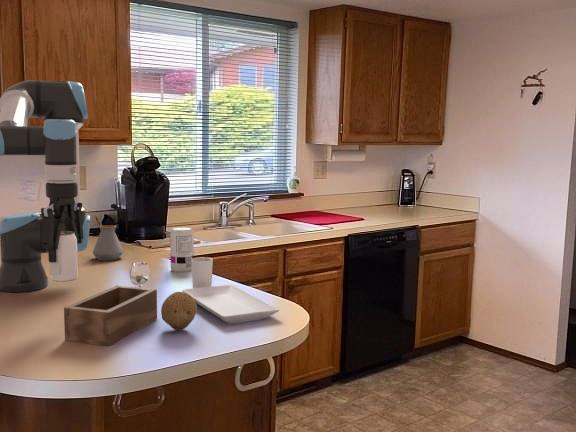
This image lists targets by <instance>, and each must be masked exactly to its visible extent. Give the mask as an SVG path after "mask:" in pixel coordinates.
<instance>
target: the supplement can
mask: <svg viewBox="0 0 576 432" xmlns="http://www.w3.org/2000/svg"><path fill="white" fill-rule="evenodd" d="M169 236H170V237H169V239H170V242H169V244H170V247H169V248H170V249H169V250H170V269H171V270H172V272H176V273H185V272H186V273H187V272H190V271H191V272H192V263H191V259H193V258H195V254H194V253H195V250H194V247H195V246H194V245H195V244H194V241H195V240H194V239H195V238H194V236H195V235H194V231H193V228H191V227H187V226H186V227H184V226H182V227H181V226H179V227H173V228H171V231H170V235H169Z"/></svg>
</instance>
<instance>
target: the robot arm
mask: <svg viewBox="0 0 576 432" xmlns="http://www.w3.org/2000/svg"><path fill="white" fill-rule="evenodd" d="M88 117H89V115H88V109H87V102H86V96H85V91H84V86H83V85H82V83H80V82H77V81H68V80H39V79H26V80H23V81H20V82H17V83H15V84H13V85H11V86H9V87H8V88H7V89H6V90H4V91H3V92H2V94H1V95H0V157H1V156H2V157H4V156H44V178H45V179H44V180H46V181H47V182H46V183H45V196H46V198H49V204H48V206H47V207H41V208H40V212H39V211H27V212H20V213H12V214H9V215H5V216H4V217H2V218H1V220H0V259H1V260H0V262H1V264H0V292H5V293H24V292H32V291H37V290H40V289H45V288H46V287H48V285H49V278H48V276H47V273H46V271H45V267H44V265H43V263H42V254H47V255H48V262H49V275H50V276H51V275H61V259H60V249H58V244H59V238H60V232H61V231H73V232H75V236H76V238H77V264H78V265H79V252H83V251H85V250H86V249H87V247H88V242H89V235H90V227H91V226H90V225H91V215H88V214H86V213H87V212H86V211H87V210H86V209H85V208H84V207H83V203H82V202H81V181H80V179H81V177H80V175H81V173H80V172H81V171H80V142H79V141H80V138H79V130H80V129H81V128H82V127H83V126H84V120H87V119H88ZM29 118H33V119H35V118H36V119H44V120H43V126H39V125H38V126H32V125H31V126H30V125H28V123H29ZM53 243H54V244H53Z"/></svg>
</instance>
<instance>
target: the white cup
mask: <svg viewBox="0 0 576 432" xmlns="http://www.w3.org/2000/svg"><path fill="white" fill-rule="evenodd" d="M213 260H214V258H211V257H202V256H201V257H194V258H193V259H191V263H192V270H191V278H192V279H191V281H192V283H191V284H192V289H193V288H203V287H213V285H212V284H213V283H212V281H213V262H214V261H213Z"/></svg>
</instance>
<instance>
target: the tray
mask: <svg viewBox="0 0 576 432" xmlns="http://www.w3.org/2000/svg"><path fill="white" fill-rule="evenodd" d="M181 292H184V293H187V294H189V295H190V296H191V297H192V298H193V299H194V300H195V302H196V304H197V305H199V306H201V307H202V308H204V310H206V311H208V312H210V313H211V314H213V315H214V316H216V317H217V318H218V319H220V320H222V321H223V322H225V323H226V324H229V325H230V324H238V323H245V322H246V323H247V322H251V321H252V322H253V321H261V320H264V319H265V318H268V317H269V316H273V315H275V314H276V313H278V312H280V309H279V308H278V307H275V306H274V305H272V304H269V303H267V302H266V301H264V300H262V299H260V298H258V297H256V296H255V295H254V294H253V295H252V294H250V293H249V292H247V291H245V290H243V289H241V288H239V287H238V286H235V285H233V284H228V285H226V284H225V285H216V286H213V285H212V287H203V288H193V287H192V288H186V289H182V291H181Z"/></svg>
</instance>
